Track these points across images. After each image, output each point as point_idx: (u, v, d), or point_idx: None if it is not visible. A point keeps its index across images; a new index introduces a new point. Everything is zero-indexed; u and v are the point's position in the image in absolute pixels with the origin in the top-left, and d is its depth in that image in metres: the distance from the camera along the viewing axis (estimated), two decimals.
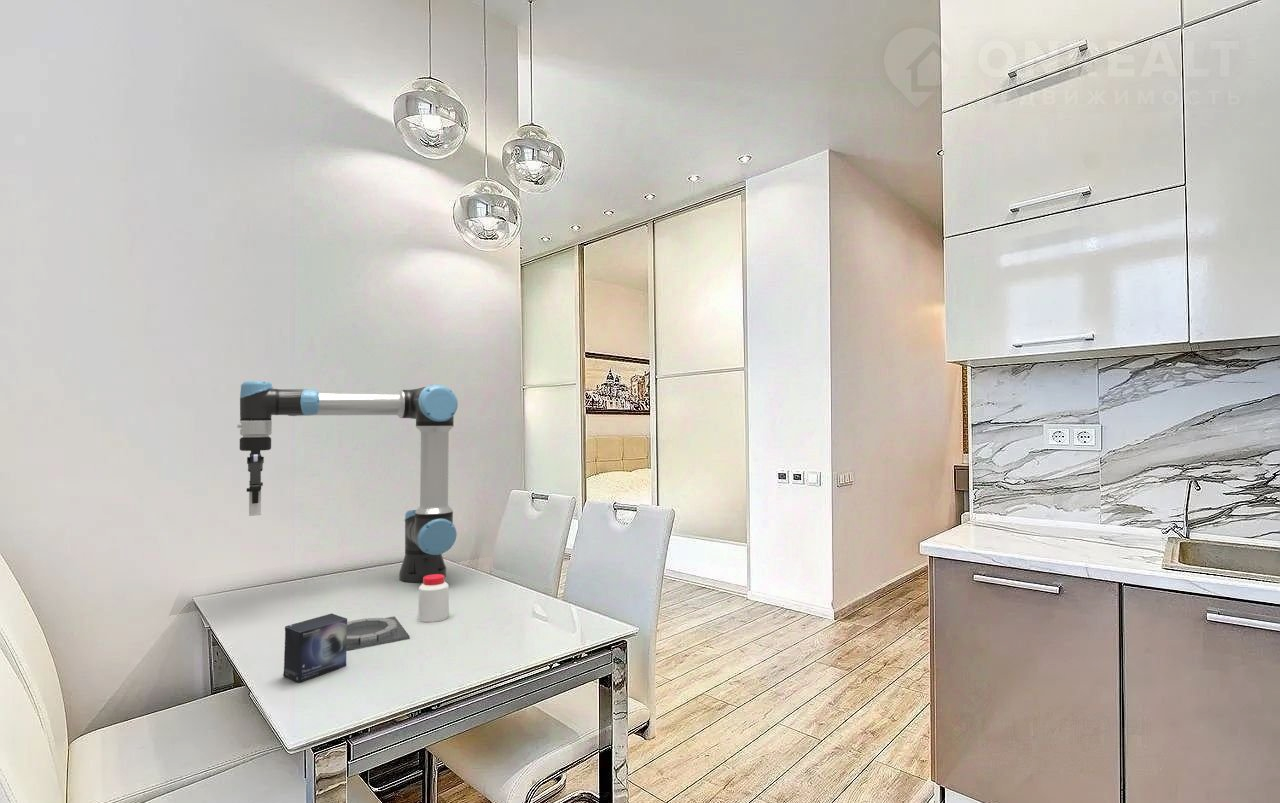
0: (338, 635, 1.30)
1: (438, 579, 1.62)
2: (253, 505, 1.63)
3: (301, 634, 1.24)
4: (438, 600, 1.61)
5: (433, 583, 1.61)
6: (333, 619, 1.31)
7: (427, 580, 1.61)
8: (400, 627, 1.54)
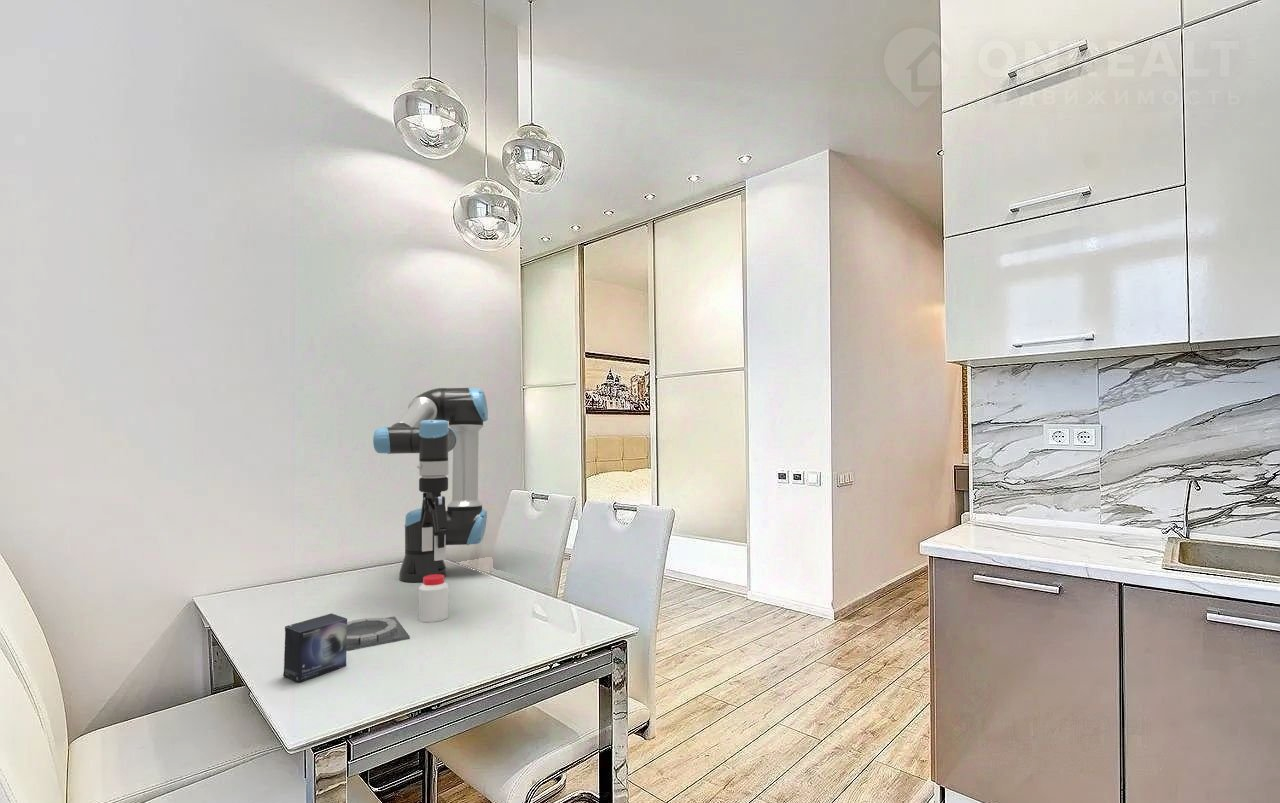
0: (338, 635, 1.30)
1: (438, 579, 1.62)
2: (439, 549, 1.58)
3: (301, 634, 1.24)
4: (438, 600, 1.61)
5: (433, 583, 1.61)
6: (333, 619, 1.31)
7: (427, 580, 1.61)
8: (400, 627, 1.54)
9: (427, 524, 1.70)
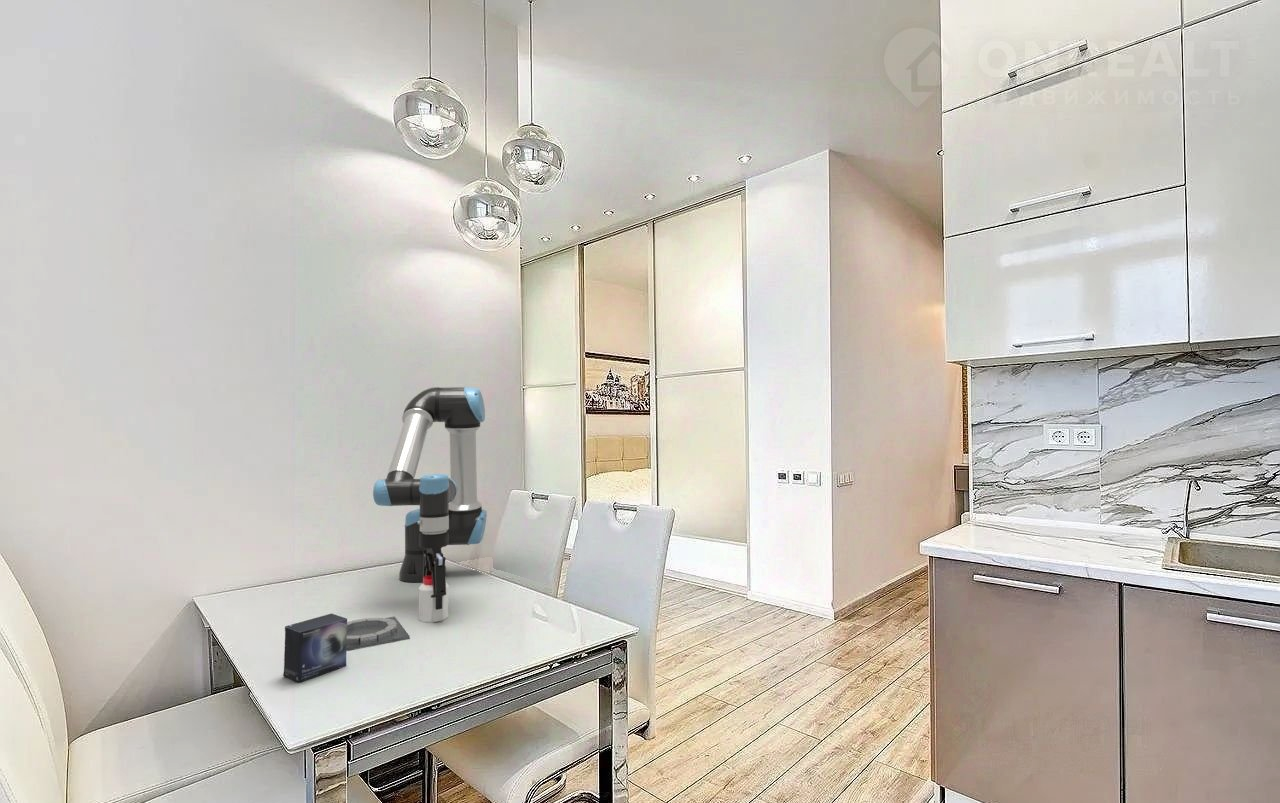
0: (338, 635, 1.30)
1: None
2: (436, 611, 1.60)
3: (301, 634, 1.24)
4: None
5: None
6: (333, 619, 1.31)
7: (427, 580, 1.61)
8: (400, 627, 1.54)
9: None
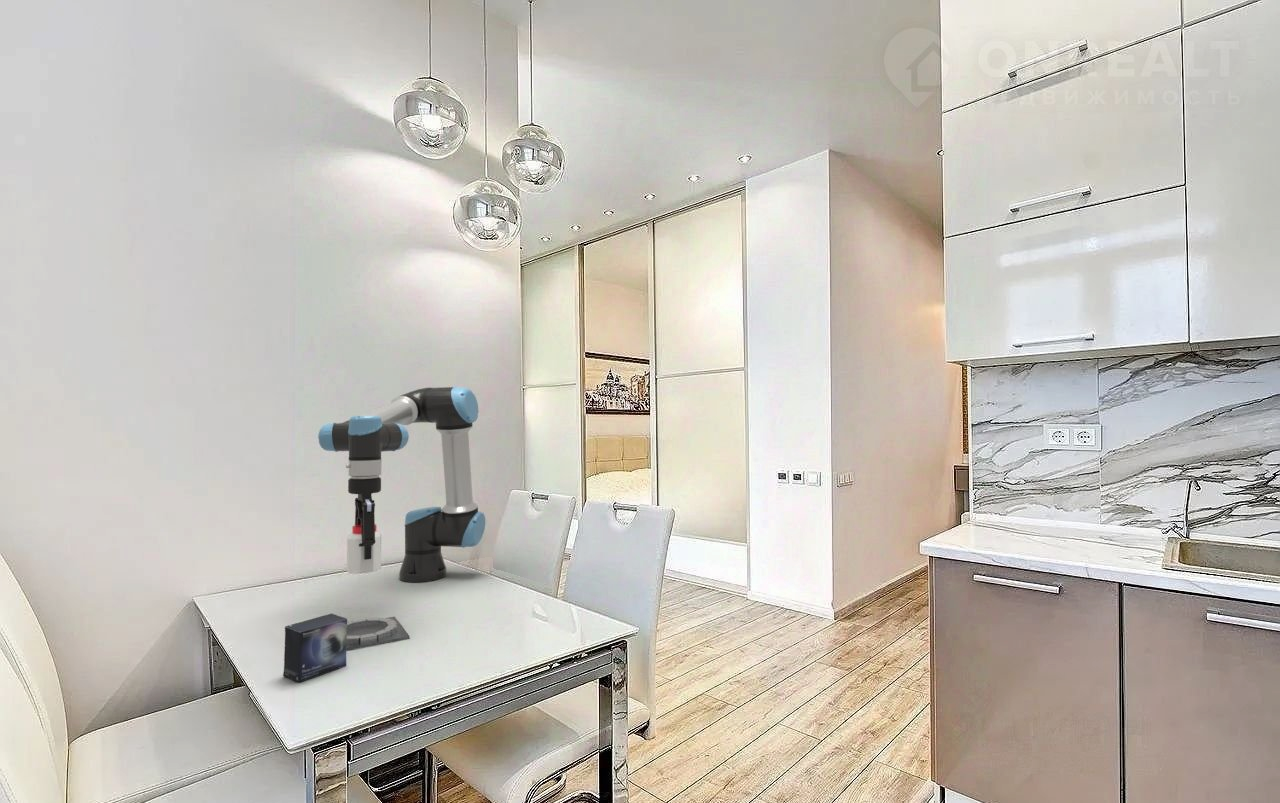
0: (338, 635, 1.30)
1: None
2: (365, 561, 1.47)
3: (301, 634, 1.24)
4: None
5: None
6: (333, 619, 1.31)
7: (356, 528, 1.49)
8: (400, 627, 1.54)
9: None
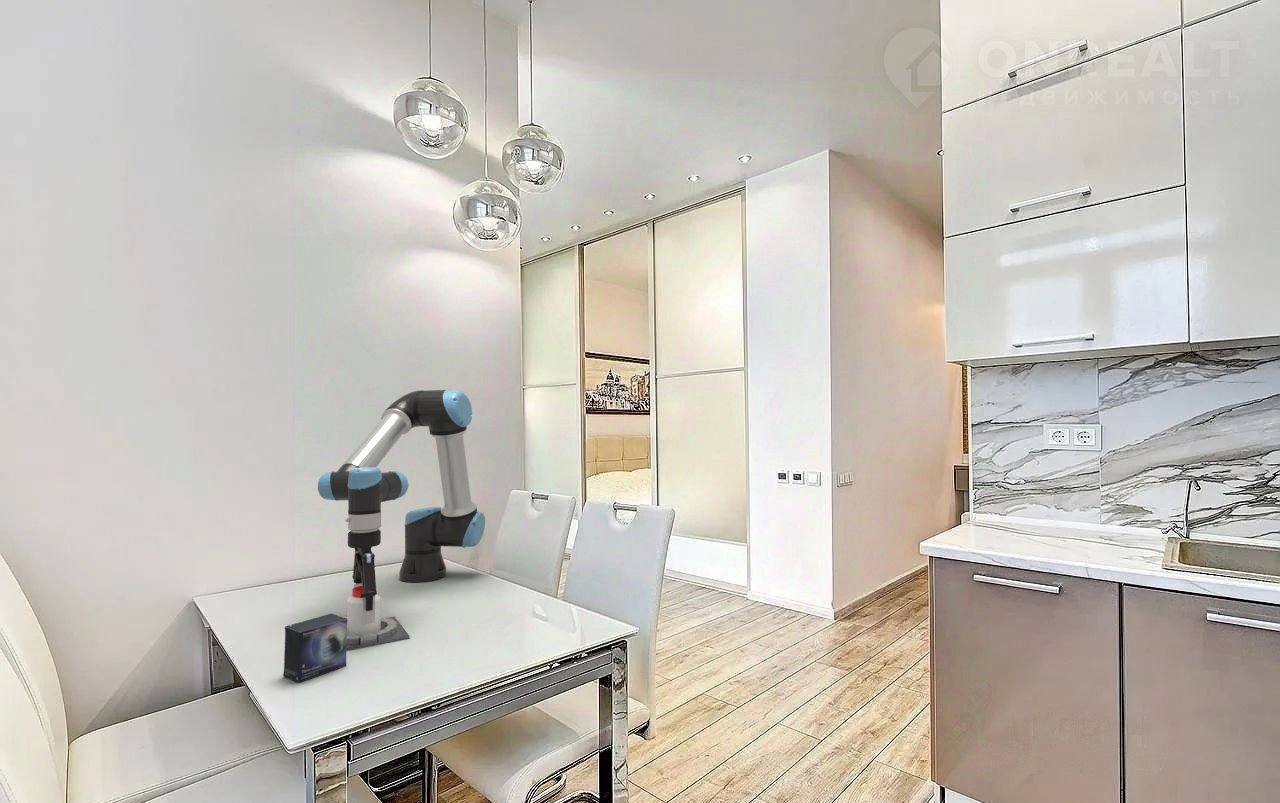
0: (338, 635, 1.30)
1: None
2: (367, 612, 1.45)
3: (301, 634, 1.24)
4: None
5: None
6: (333, 619, 1.31)
7: (356, 592, 1.48)
8: (400, 627, 1.54)
9: (360, 580, 1.57)
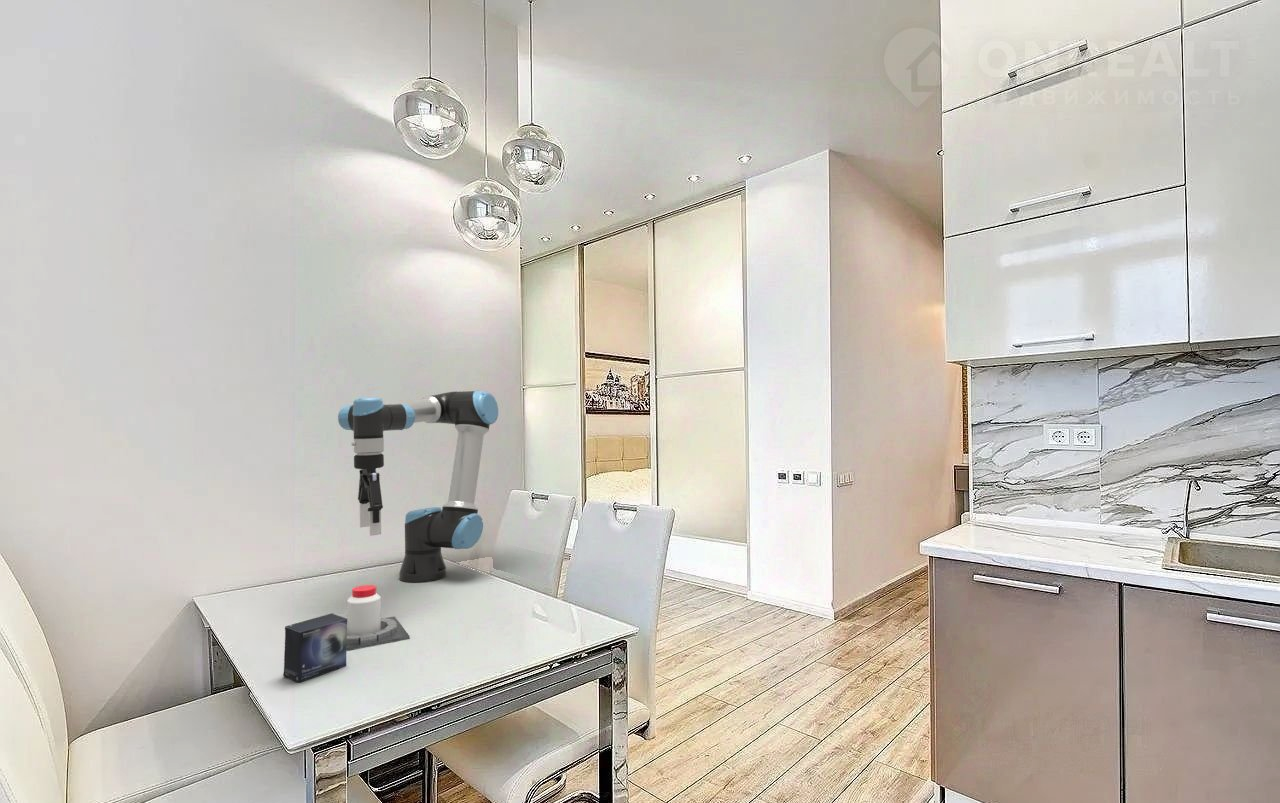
0: (338, 635, 1.30)
1: (368, 591, 1.49)
2: (374, 524, 1.61)
3: (301, 634, 1.24)
4: (367, 614, 1.48)
5: (363, 595, 1.48)
6: (333, 619, 1.31)
7: (356, 592, 1.48)
8: (400, 627, 1.54)
9: (365, 500, 1.73)
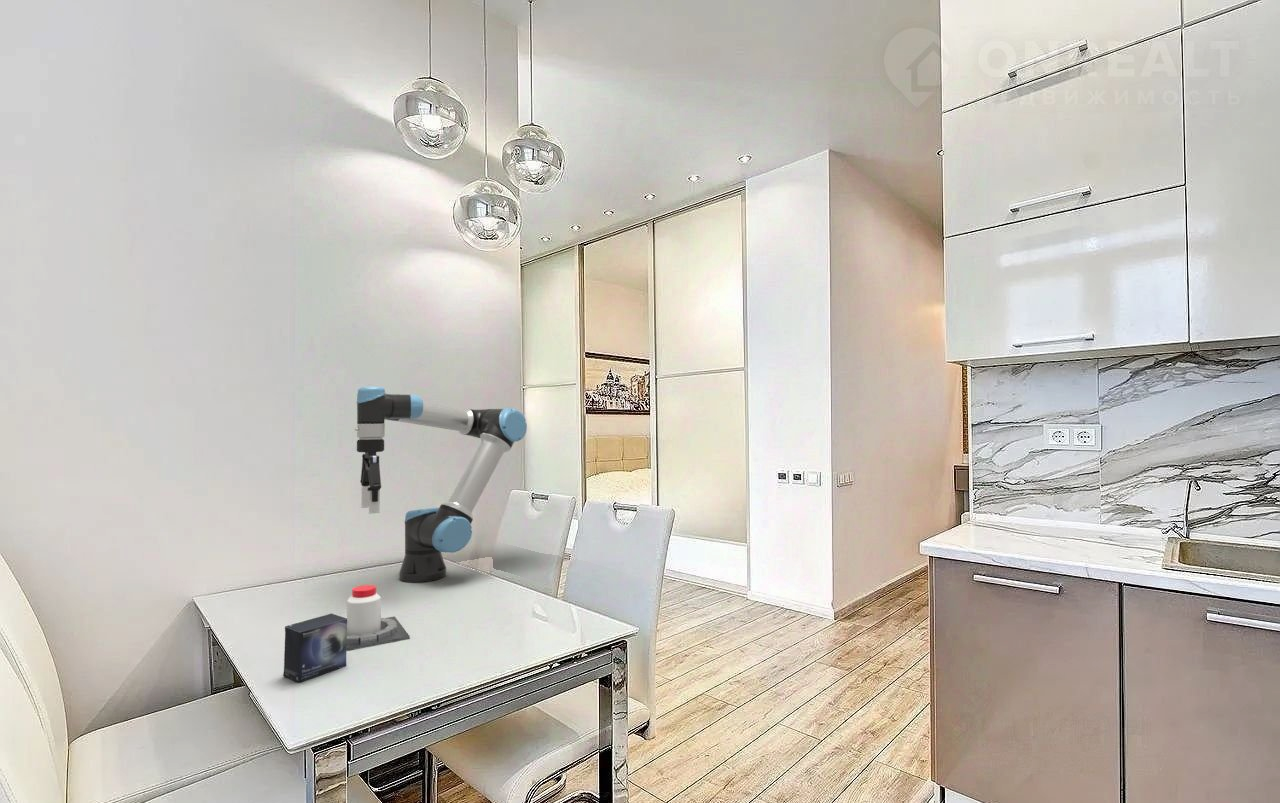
0: (338, 635, 1.30)
1: (368, 591, 1.49)
2: (373, 503, 1.74)
3: (301, 634, 1.24)
4: (367, 614, 1.48)
5: (363, 595, 1.48)
6: (333, 619, 1.31)
7: (356, 592, 1.48)
8: (400, 627, 1.54)
9: (366, 483, 1.86)
